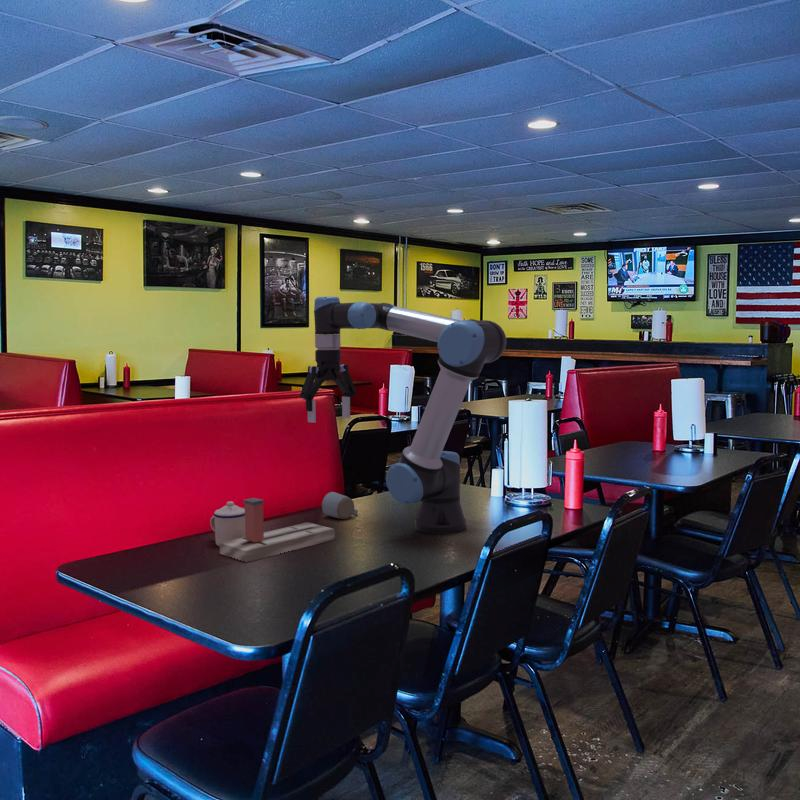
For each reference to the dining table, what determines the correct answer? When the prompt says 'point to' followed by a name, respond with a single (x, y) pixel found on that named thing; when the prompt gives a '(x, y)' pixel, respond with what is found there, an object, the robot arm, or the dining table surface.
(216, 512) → the teacup with lid
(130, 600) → the dining table surface
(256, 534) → the fader tab
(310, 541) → the panel
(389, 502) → the dining table surface
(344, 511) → the ceramic mug
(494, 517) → the dining table surface
